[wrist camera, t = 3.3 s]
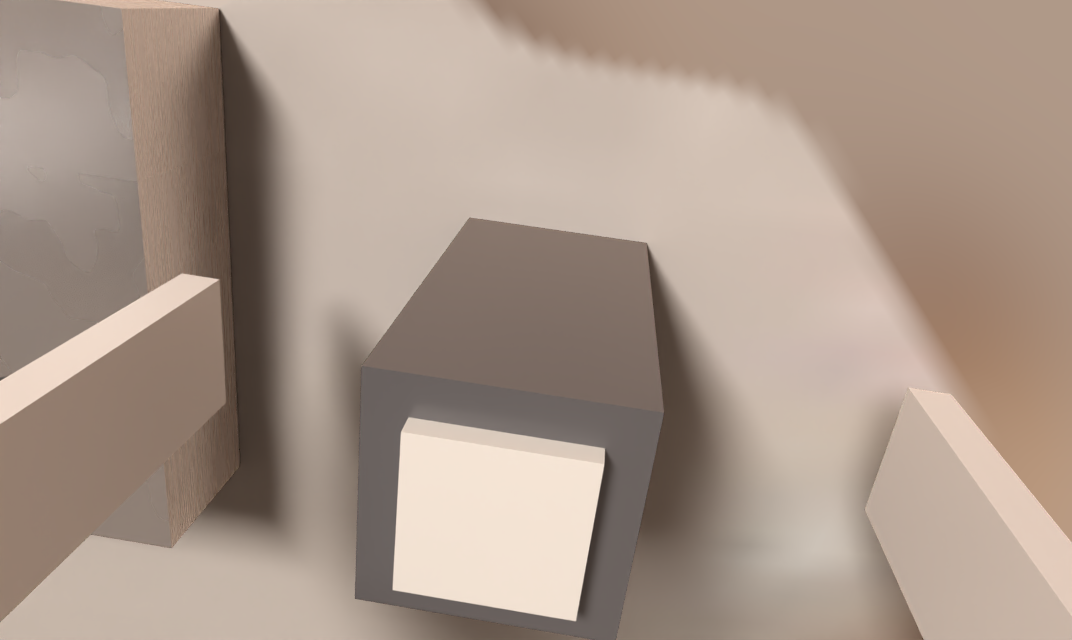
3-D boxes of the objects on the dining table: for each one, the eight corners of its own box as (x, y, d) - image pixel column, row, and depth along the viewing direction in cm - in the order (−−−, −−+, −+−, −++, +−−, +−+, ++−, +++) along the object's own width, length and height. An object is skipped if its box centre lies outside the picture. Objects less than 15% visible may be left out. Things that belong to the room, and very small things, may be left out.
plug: (617, 399, 19) (615, 663, 11) (456, 375, 19) (346, 617, 12) (646, 243, 18) (666, 428, 10) (469, 217, 18) (351, 379, 10)
